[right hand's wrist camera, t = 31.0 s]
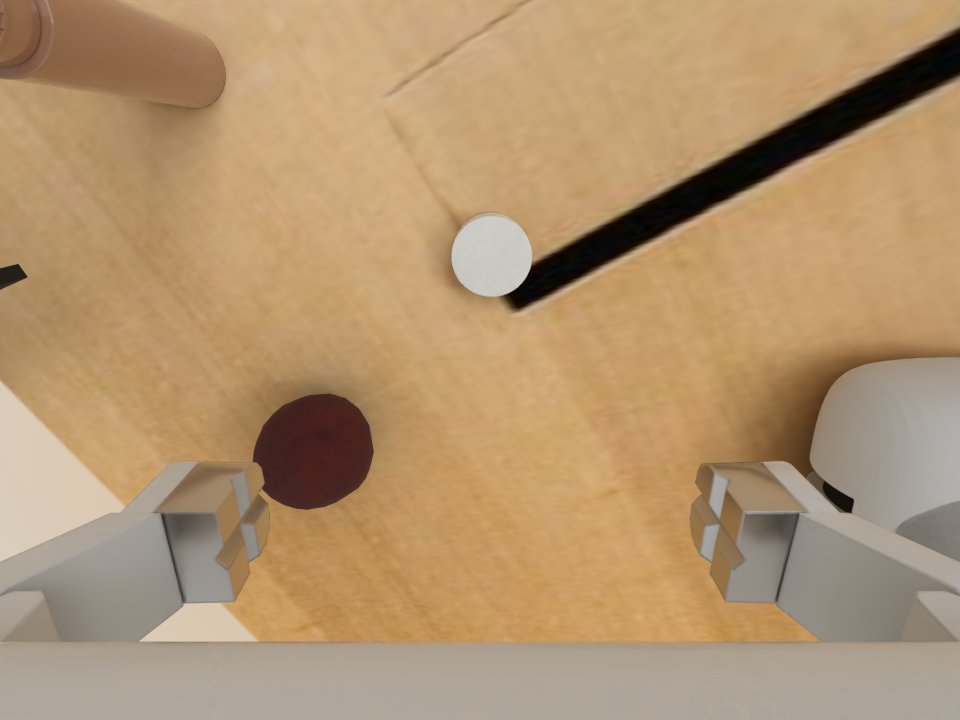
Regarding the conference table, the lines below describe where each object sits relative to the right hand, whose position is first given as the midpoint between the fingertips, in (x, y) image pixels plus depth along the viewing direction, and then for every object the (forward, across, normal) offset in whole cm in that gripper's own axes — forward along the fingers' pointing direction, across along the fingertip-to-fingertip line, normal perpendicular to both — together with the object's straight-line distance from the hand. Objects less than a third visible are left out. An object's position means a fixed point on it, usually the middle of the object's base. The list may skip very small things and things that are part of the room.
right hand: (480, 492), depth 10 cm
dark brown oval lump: (+26, +11, +12) cm, 31 cm away
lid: (+24, -1, 0) cm, 25 cm away
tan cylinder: (+26, +17, -10) cm, 33 cm away
